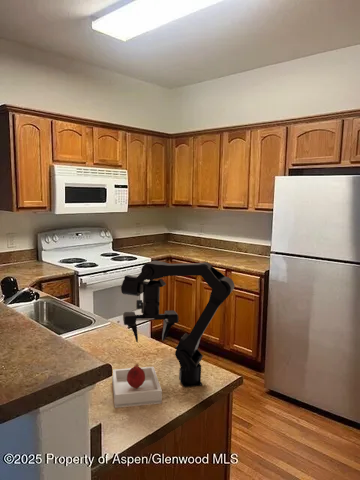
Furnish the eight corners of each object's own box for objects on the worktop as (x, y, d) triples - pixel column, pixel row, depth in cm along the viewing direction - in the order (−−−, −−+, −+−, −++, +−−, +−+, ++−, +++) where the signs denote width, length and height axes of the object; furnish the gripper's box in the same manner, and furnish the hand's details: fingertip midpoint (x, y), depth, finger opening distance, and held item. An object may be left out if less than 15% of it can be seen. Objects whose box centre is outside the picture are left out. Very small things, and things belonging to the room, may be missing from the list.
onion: (141, 394, 113) (141, 369, 112) (123, 391, 114) (124, 367, 114) (147, 385, 119) (147, 361, 118) (130, 382, 120) (130, 359, 119)
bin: (153, 377, 126) (153, 366, 126) (161, 403, 111) (161, 390, 110) (112, 380, 123) (112, 369, 122) (114, 407, 107) (115, 395, 107)
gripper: (172, 290, 135) (171, 331, 137) (122, 292, 131) (121, 333, 133) (179, 299, 125) (177, 343, 126) (124, 301, 120) (123, 346, 122)
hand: (150, 341), depth 127 cm, fingers open, 9 cm apart
